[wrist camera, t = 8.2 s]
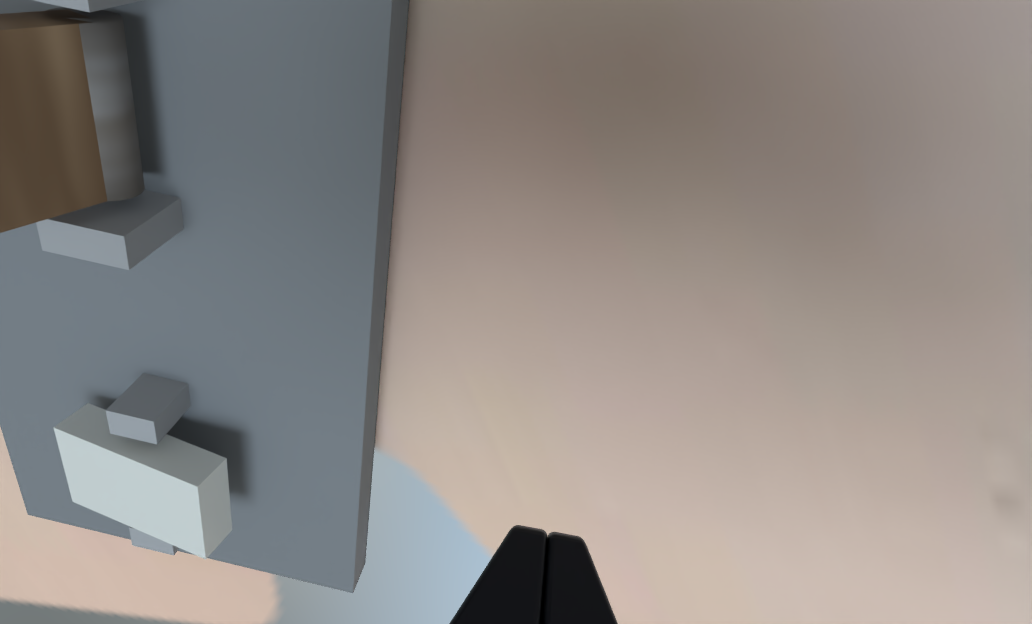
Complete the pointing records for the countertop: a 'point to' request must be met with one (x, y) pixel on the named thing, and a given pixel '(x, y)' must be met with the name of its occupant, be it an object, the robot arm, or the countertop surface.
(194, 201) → the switch panel
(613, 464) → the countertop surface
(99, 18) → the walnut lever
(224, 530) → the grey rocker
